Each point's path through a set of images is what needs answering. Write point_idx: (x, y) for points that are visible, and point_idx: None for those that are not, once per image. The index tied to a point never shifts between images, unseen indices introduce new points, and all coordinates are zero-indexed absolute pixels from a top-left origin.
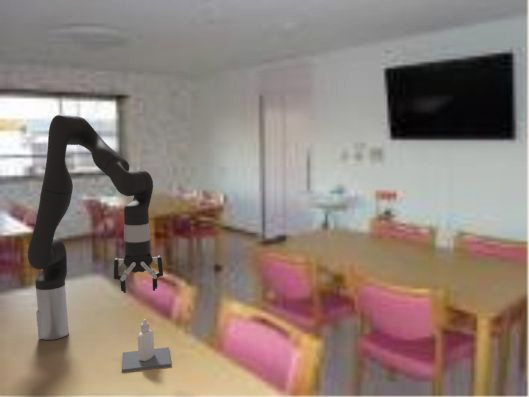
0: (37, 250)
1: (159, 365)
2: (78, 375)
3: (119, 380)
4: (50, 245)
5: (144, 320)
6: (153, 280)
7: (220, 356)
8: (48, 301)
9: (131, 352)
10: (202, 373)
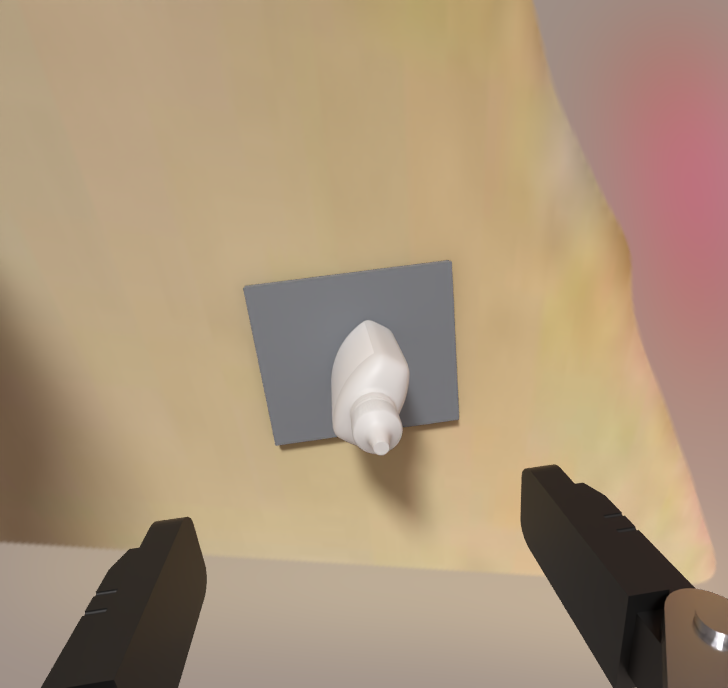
0: None
1: (415, 424)
2: (113, 445)
3: (281, 493)
4: None
5: (380, 454)
6: (617, 665)
7: (643, 356)
8: None
9: (285, 293)
10: None
